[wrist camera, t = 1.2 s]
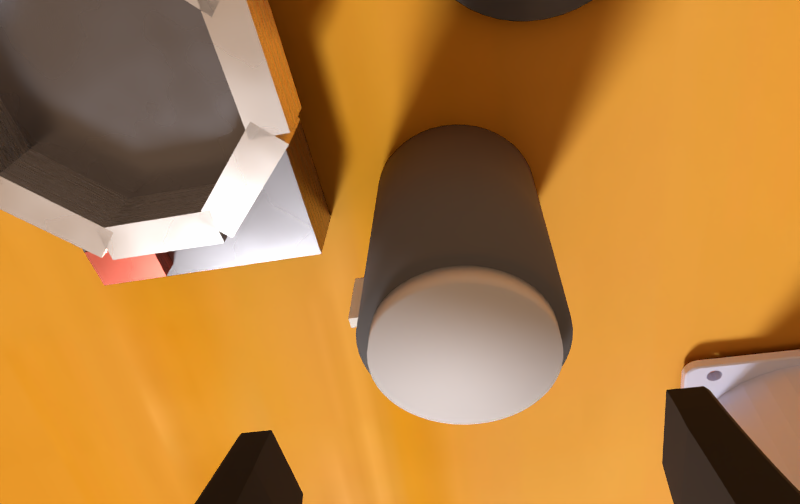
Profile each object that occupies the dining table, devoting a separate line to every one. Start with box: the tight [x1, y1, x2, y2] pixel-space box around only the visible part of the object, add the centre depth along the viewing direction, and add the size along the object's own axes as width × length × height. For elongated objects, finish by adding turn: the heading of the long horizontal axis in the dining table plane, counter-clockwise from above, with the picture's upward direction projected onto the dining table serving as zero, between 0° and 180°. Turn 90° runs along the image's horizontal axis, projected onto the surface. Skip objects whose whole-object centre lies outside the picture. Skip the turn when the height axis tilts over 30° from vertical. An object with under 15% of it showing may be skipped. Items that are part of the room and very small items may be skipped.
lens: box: [348, 125, 573, 424], centre depth 16 cm, size 5×5×7 cm
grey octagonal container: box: [0, 0, 331, 285], centre depth 16 cm, size 8×10×4 cm
